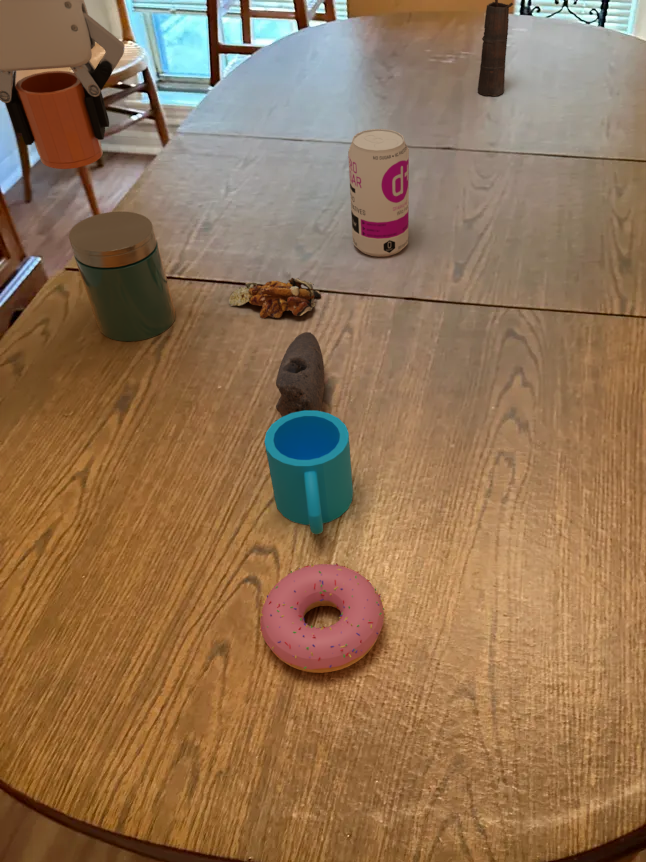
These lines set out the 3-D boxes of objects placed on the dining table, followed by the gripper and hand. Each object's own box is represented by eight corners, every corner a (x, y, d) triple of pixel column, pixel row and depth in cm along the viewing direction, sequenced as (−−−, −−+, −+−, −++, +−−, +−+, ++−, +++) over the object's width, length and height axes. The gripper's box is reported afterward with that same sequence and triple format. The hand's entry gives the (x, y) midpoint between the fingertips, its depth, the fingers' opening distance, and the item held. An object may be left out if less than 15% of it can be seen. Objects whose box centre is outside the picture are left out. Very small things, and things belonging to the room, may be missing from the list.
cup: (37, 171, 79) (11, 96, 74) (45, 146, 83) (20, 73, 78) (100, 166, 80) (78, 91, 75) (105, 141, 84) (84, 68, 79)
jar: (95, 345, 100) (66, 261, 91) (100, 303, 106) (73, 220, 98) (175, 336, 101) (154, 252, 92) (175, 295, 108) (155, 212, 99)
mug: (273, 473, 84) (263, 414, 78) (349, 465, 85) (344, 406, 79) (277, 558, 77) (266, 499, 70) (361, 548, 77) (357, 490, 71)
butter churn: (525, 87, 158) (544, -89, 137) (510, 103, 152) (527, -77, 131) (482, 80, 160) (494, -93, 139) (465, 96, 155) (475, -82, 134)
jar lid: (71, 271, 92) (65, 255, 91) (77, 231, 99) (72, 215, 97) (156, 263, 93) (151, 246, 92) (157, 224, 100) (153, 208, 98)
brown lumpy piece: (237, 287, 109) (233, 263, 106) (322, 293, 108) (320, 269, 105) (222, 315, 104) (217, 291, 102) (311, 322, 103) (308, 298, 100)
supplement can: (419, 244, 117) (421, 138, 105) (380, 265, 113) (378, 158, 101) (380, 225, 120) (378, 122, 109) (341, 245, 116) (335, 140, 105)
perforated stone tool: (291, 360, 98) (285, 311, 92) (334, 361, 98) (329, 312, 92) (274, 441, 88) (265, 391, 83) (321, 442, 88) (315, 392, 82)
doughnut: (238, 646, 70) (230, 618, 67) (311, 564, 76) (307, 536, 73) (339, 703, 66) (335, 677, 63) (407, 612, 72) (407, 584, 69)
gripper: (104, -98, 70) (153, 116, 84) (-101, -89, 68) (-16, 128, 82) (98, -79, 65) (151, 145, 79) (-123, -69, 63) (-29, 159, 77)
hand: (65, 135), depth 80 cm, fingers closed on cup, 6 cm apart
